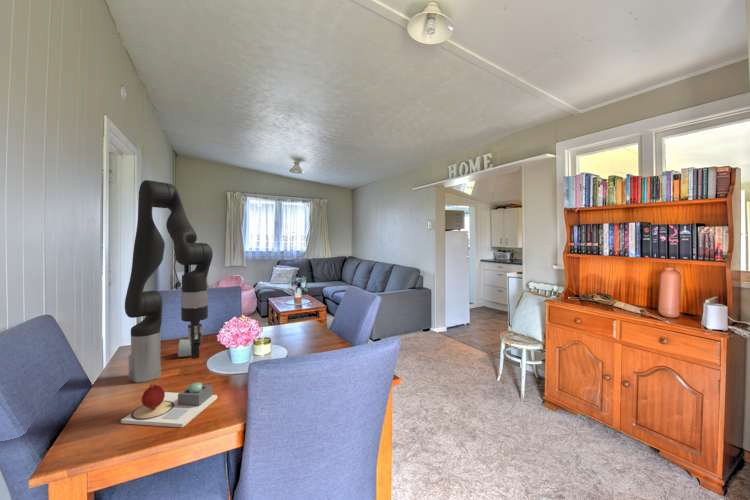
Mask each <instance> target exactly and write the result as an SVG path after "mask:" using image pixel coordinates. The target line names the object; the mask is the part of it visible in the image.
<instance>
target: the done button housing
mask: <svg viewBox="0 0 750 500" xmlns="http://www.w3.org/2000/svg"><path fill="white" fill-rule="evenodd" d="M178 393H179V394H178V405H185V406H200V405H201V404H202V403H204V402H205V401H206V400H207V399H209V398H210V397H211V396H212V395H213V385H210V384H202V391H200V392H199V393H189V386H188V387H187V388H184V389H183V390H182V391H180V392H178Z"/></svg>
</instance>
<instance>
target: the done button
mask: <svg viewBox="0 0 750 500" xmlns="http://www.w3.org/2000/svg"><path fill="white" fill-rule="evenodd" d="M202 385H203V383H202V382H199V381H198V382H193V383H191V384H189V385H188V387H189V393H199V392H200V391H202Z"/></svg>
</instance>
